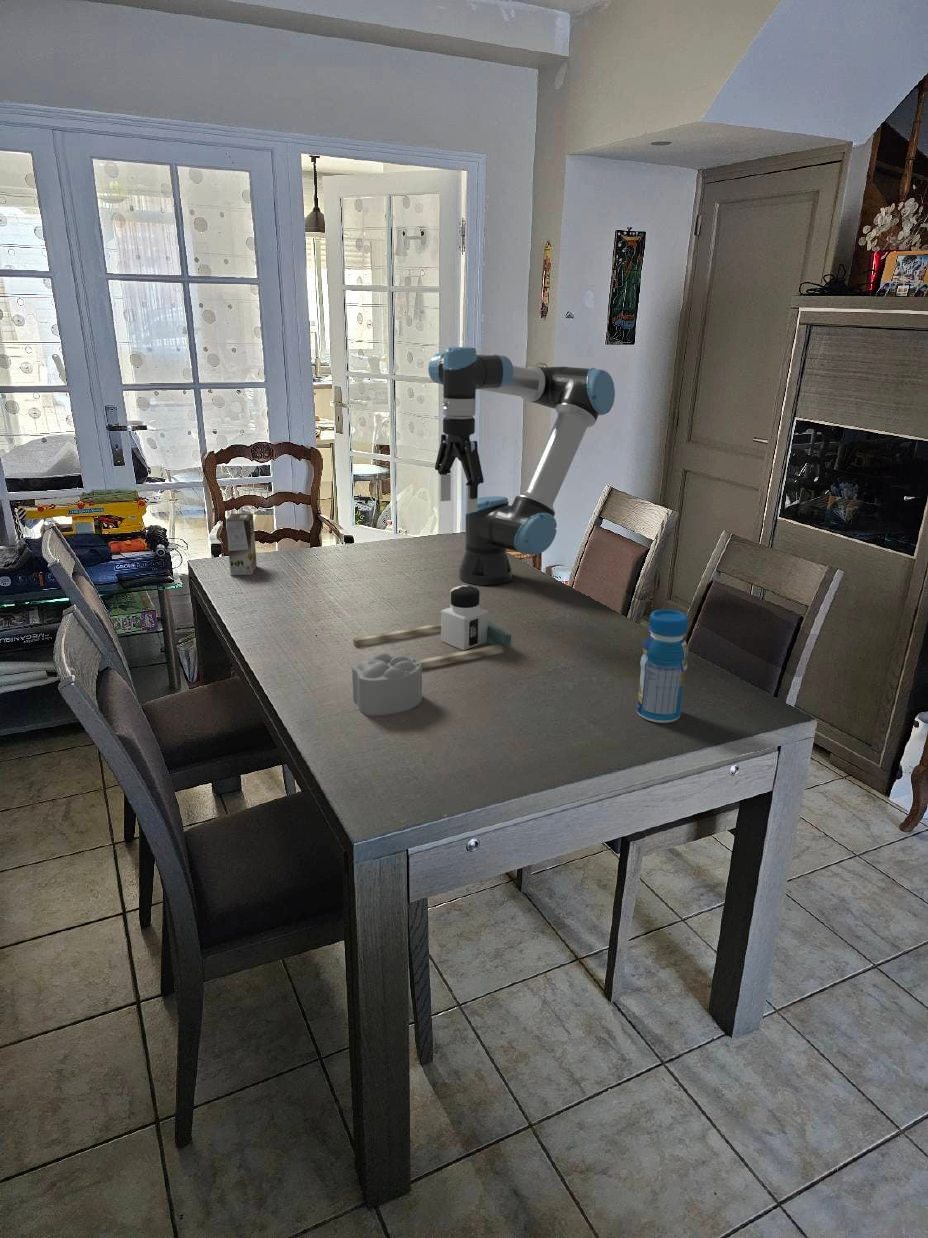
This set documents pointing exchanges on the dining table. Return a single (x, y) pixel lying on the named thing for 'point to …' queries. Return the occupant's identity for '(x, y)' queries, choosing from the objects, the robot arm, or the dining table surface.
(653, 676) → the beverage bottle
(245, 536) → the coffee box
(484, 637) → the container
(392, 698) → the lumpy-topped squat cylinder
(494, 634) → the beige u-shaped frame
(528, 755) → the dining table surface
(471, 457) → the robot arm
